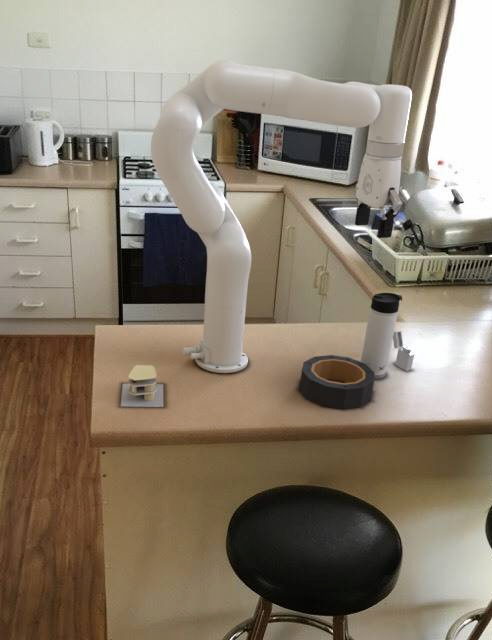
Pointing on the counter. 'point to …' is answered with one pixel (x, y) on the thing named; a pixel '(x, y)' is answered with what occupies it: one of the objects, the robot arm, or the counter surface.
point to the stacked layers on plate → (142, 388)
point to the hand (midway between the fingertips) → (372, 230)
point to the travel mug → (380, 332)
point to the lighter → (402, 352)
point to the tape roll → (334, 392)
